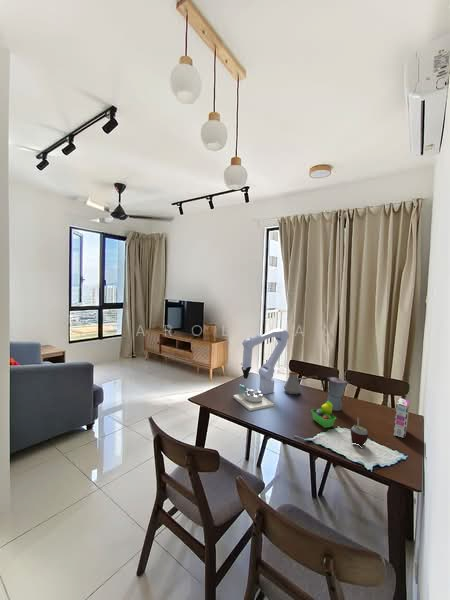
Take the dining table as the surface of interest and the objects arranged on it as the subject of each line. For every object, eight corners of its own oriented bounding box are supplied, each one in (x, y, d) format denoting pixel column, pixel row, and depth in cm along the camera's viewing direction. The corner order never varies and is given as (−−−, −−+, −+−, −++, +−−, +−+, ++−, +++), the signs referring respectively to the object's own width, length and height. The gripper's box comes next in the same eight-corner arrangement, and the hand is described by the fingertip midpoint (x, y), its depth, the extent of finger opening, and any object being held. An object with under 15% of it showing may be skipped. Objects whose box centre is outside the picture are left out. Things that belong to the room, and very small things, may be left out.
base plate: (255, 393, 173) (256, 391, 173) (273, 406, 156) (274, 403, 156) (233, 397, 165) (233, 395, 165) (249, 410, 148) (249, 408, 148)
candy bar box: (405, 440, 127) (408, 406, 127) (393, 435, 131) (395, 403, 130) (407, 431, 136) (410, 400, 135) (395, 427, 139) (398, 397, 138)
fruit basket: (309, 418, 143) (311, 398, 143) (322, 416, 146) (324, 396, 146) (324, 429, 133) (326, 407, 132) (338, 427, 136) (339, 405, 135)
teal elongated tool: (266, 400, 160) (266, 392, 159) (252, 404, 153) (253, 396, 153) (245, 389, 174) (246, 382, 174) (232, 393, 167) (233, 385, 167)
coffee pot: (281, 392, 178) (282, 370, 177) (287, 387, 187) (288, 367, 187) (313, 401, 166) (315, 378, 165) (317, 396, 176) (319, 374, 175)
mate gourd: (361, 440, 125) (364, 409, 124) (371, 450, 117) (374, 417, 116) (346, 440, 124) (348, 408, 124) (354, 450, 116) (357, 417, 116)
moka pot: (348, 413, 152) (351, 379, 151) (320, 409, 155) (323, 376, 154) (344, 406, 162) (347, 374, 161) (318, 402, 165) (320, 371, 164)
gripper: (243, 354, 179) (242, 373, 180) (238, 359, 166) (236, 380, 166) (254, 355, 177) (252, 375, 178) (249, 360, 163) (247, 382, 164)
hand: (245, 378), depth 172 cm, fingers closed
